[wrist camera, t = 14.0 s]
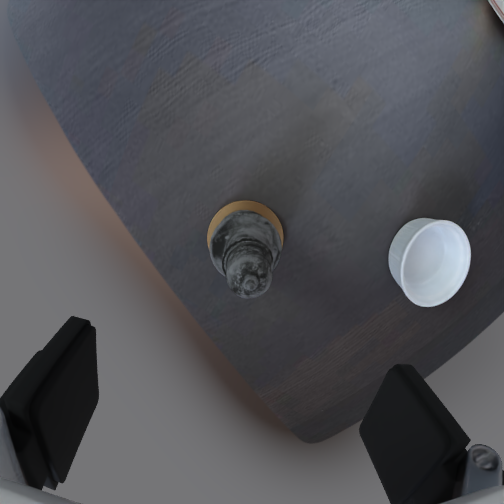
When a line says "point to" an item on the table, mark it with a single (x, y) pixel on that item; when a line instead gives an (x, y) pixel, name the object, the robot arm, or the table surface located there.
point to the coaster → (244, 205)
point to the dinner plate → (498, 7)
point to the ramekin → (429, 260)
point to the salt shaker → (246, 252)
